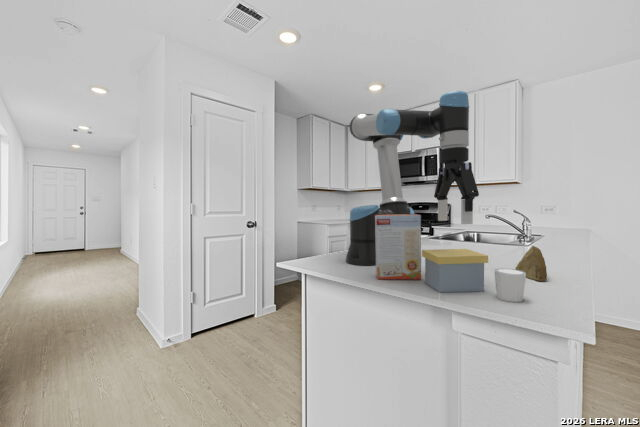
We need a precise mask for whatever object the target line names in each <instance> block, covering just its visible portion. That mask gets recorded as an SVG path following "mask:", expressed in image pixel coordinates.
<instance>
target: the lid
mask: <svg viewBox="0 0 640 427" xmlns="http://www.w3.org/2000/svg"><path fill="white" fill-rule="evenodd" d="M422 257H423V258H427V259H429V260H431V261H433V262H435V263H437V264H466V263H484V264H489V255H487V254H484V253H480V252H478V251H474V250H472V249H468V248H453V249H452V248H448V249H445V248H444V249H442V248H441V249H421V258H422Z"/></svg>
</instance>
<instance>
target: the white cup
mask: <svg viewBox="0 0 640 427" xmlns="http://www.w3.org/2000/svg"><path fill="white" fill-rule="evenodd" d="M493 272H494V282H495V290H496V292H495V293H496V297H497V298H498V299H499V300H502V301H506V302H510V303H511V302H512V303H514V302H515V303H521V302H523V301H524V300H523V299H524V292H525V286H526V278H527V277H526V273H525V272H523V271H520V270H515V269H514V268H496V269H494V271H493Z"/></svg>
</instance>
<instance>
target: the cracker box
mask: <svg viewBox="0 0 640 427" xmlns="http://www.w3.org/2000/svg"><path fill="white" fill-rule="evenodd" d="M421 224H422V215H421V214H417V213H414V214H388V215H375V243H376V265H375V275H376V279H377V280H413V281H414V280H418V281H419V280H422V229H421V228H422V225H421Z"/></svg>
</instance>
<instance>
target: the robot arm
mask: <svg viewBox="0 0 640 427" xmlns="http://www.w3.org/2000/svg"><path fill="white" fill-rule="evenodd" d="M438 105H439V107H437V108H435V109H433V110H415V109H413V110H410V109H407V110H406V109H395V108H387V109H381V110H380V111H379V112H378V113H375V114H374V113H362V114H358V115H356V116H354V117H353V118H352V119H351V121H350V123H349V125H348V126H349V133H350V134H351V135H352V137H353V138H354V139H357V140H358V141H363V142H372V146H373V148H374V149H375V150H376V151H377V160H378V169H379V178H380V179H379V181H380V188H381V197H382V198H381V199H382V200H381V202H380V203H379V204H369V205H362V206H356V207H353V208H351V209H350V212H349V236H350V237H349V240H350V241H349V242H350V243H349V246H348V250H347V253H346V257H345V258H346V259H345V260H346V261H345V262H346V263H347V264H350V265H353V266H354V265H355V266H376V243H375V215H388V214H415V211H414V209H413V208H412V207H410V206H409V205H408V201H407V200H405V199H404V198H403V197H404V195H403V188H402V187H403V186H402V179H401V172H400V171H401V170H400V163H399V162H400V161H399V154H398V146H399V144H400V142H401V140H402V139H403V137H404V136H417V137H419V138H421V139H430V138H431V139H433V138H434V137H436V136H439V137H438V140H439V149H441V150H440V151H439V163H440V164H444V167H440V168H438V175H437V177H438V178H437V181H436V184H435V185H436V186H435V190H434V195H433V197H434V198H435V199H436V200H437V221H438V222H446V221H449V220H448V212H449V211H448V204H449V203H448V202H449V201H448V199H449V198H448V195H449V191H451V187H452V185H453V184H454V183H456V185H457V186H456V187H458V190H459V192H460V194H461V198H460V200H461V201H460V210H461V211H460V225H473V221H474V218H473V215H474V214H473V213H474V212H473V210H474V200H475V198H477V197H479V195H480V194H479V189H478V186H477V183H476V180H475V176H474V172H473V165H472V162H471V161H470V162H468V161H469V154H470V153H469V152H470V151H469V148H468V147H469V146H470V145H469V143H470V142H469V141H470V140H469V135H470V134H469V133H470V132H469V129H470V128H469V126H470V125H469V122H470V121H469V120H470V118H469V117H470V114H469V112H470V104H469V94H468V93H467V92H466V91H463V90H452V91H449V92H446V93H444V94H442V95H441V96H440V97H439V103H438Z"/></svg>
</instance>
